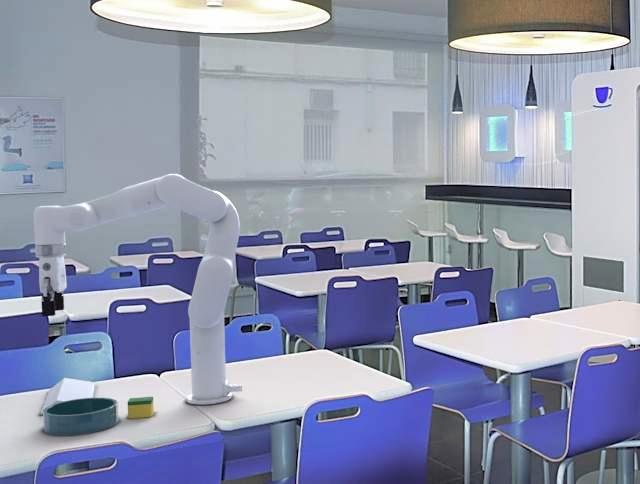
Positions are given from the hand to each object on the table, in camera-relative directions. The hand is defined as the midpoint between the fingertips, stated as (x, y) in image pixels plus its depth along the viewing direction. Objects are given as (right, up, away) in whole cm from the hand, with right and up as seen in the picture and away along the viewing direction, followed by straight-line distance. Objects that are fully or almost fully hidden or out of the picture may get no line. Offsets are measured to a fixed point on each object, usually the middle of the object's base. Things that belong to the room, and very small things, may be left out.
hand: (53, 313), depth 240 cm
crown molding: (-2, -27, +15) cm, 31 cm away
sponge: (+25, -27, -3) cm, 37 cm away
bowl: (+13, -28, -11) cm, 33 cm away
